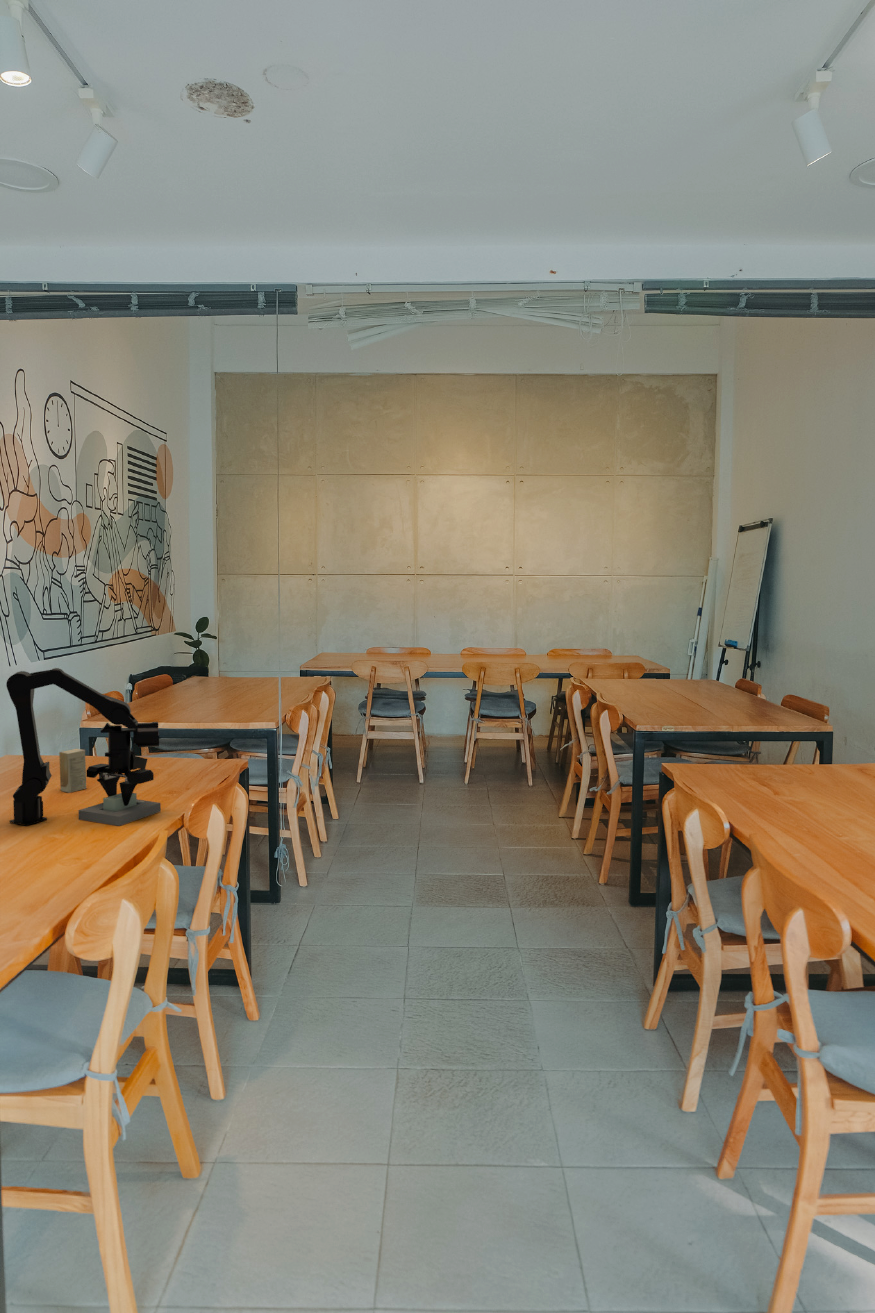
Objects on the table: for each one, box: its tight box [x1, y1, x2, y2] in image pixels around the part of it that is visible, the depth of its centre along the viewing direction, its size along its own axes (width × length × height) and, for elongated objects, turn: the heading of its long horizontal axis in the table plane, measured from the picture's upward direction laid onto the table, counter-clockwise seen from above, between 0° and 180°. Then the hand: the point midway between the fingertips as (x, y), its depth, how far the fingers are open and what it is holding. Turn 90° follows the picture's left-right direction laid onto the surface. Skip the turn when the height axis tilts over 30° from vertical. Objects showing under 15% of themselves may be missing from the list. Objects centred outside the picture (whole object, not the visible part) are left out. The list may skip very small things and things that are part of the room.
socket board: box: [77, 798, 162, 827], centre depth 221 cm, size 16×14×3 cm
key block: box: [102, 792, 138, 812], centre depth 221 cm, size 4×8×4 cm, turn 158°
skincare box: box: [58, 748, 87, 794], centre depth 247 cm, size 6×4×12 cm
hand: (120, 804), depth 221 cm, fingers closed on key block, 4 cm apart
